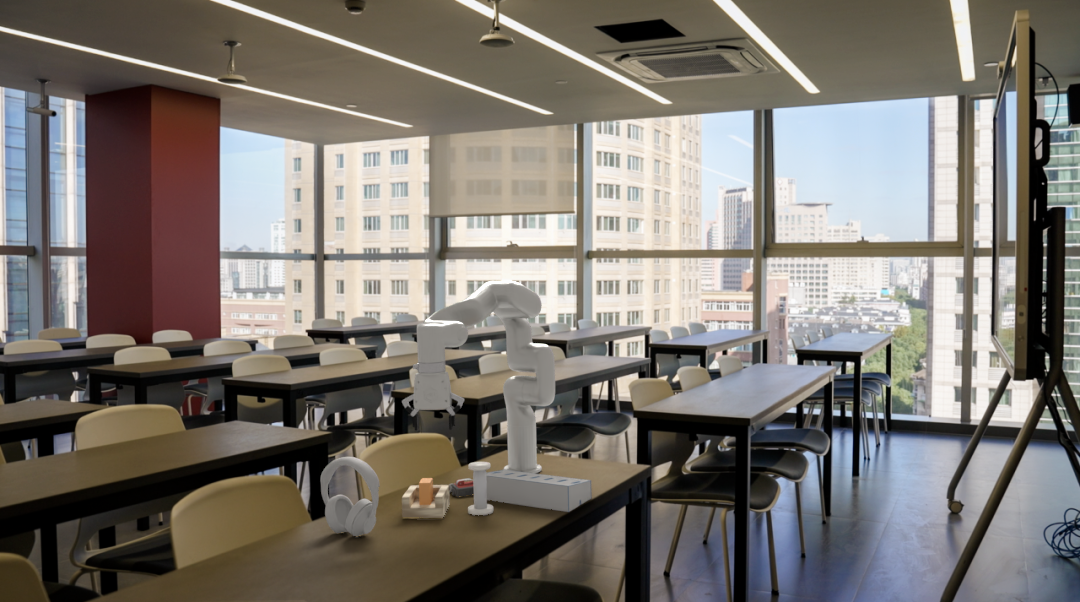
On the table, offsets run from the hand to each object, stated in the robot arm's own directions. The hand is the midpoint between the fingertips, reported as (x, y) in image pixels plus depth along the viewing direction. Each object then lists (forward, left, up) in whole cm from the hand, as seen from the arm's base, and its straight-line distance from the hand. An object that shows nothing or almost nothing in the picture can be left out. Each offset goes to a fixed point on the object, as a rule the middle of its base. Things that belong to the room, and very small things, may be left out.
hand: (434, 429), depth 216 cm
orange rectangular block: (+2, -2, -20) cm, 20 cm away
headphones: (+20, -18, -23) cm, 36 cm away
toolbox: (-17, +4, -23) cm, 29 cm away
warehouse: (-10, +27, -23) cm, 37 cm away
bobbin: (+2, +13, -23) cm, 26 cm away
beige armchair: (+2, -2, -23) cm, 23 cm away
